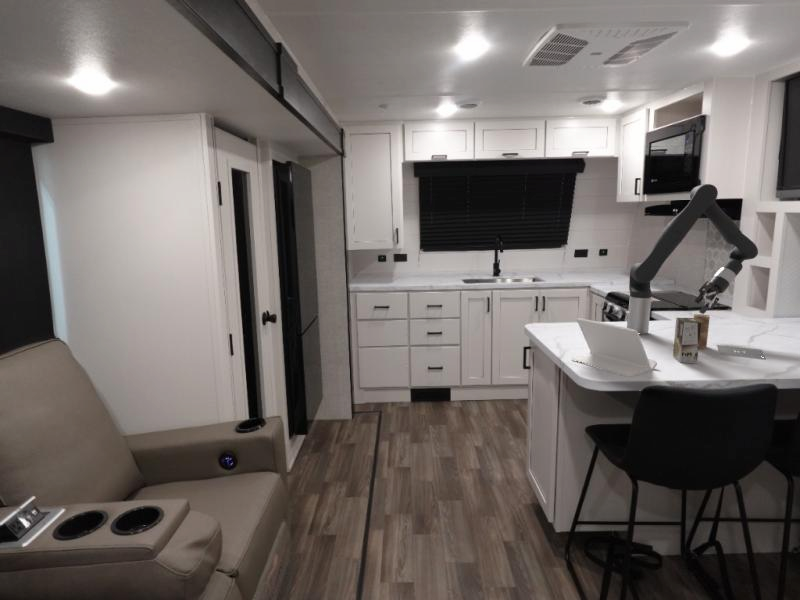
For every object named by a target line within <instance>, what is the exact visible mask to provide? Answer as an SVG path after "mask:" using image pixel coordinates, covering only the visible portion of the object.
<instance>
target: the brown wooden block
mask: <svg viewBox="0 0 800 600" xmlns="http://www.w3.org/2000/svg"><path fill="white" fill-rule="evenodd" d="M693 318H694V319H696V320H698V321H699V322H701V331H700V340H699V350H704V351H706V350H707V345H708V344H707V343H708V336H709V327H710V320H711V319H710V314H702V313H700V314H699V313H693Z"/></svg>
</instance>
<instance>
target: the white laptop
mask: <svg viewBox="0 0 800 600" xmlns="http://www.w3.org/2000/svg"><path fill="white" fill-rule="evenodd" d="M576 322H577V324H578V325H579V329H580V331H581V332H582V335H583V338H584V340H585V341H586V344H587V347H588V349H589V350H590V352H589V353H588V354H585V355H583V354H582V355H580V356H576V357H572V358H571V360H572V359H573V360H576V361H580V362H583V363H586V364H589V365H592V366H595V367H598V368H597V369H599V368H601V369H600V370H602V369H604V370H603V371H606V370H607V371H606V372H609V373H612V372H613V374H616V375H620V376H623V377H627V378H632V377H635V376H638V375H641V374H644V373H648V372H651V371H653V370H654V369H655V368H656V367H657V365H658V362H657V361H656V360H655V359H654V360H653V359H649V358H648V355H647V353H646V350H645V347H644V344H643V341H642V339H641V337H640V334H638V331H637V330H634V329H630V328H627V327H625V326H620V325H615V324H609V323H605V322H600V321H596V320H592V319H586V318H582V317H577V319H576ZM589 365H588V366H589ZM592 366H591V367H592ZM595 367H594V368H595Z"/></svg>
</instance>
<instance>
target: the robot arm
mask: <svg viewBox="0 0 800 600" xmlns="http://www.w3.org/2000/svg"><path fill="white" fill-rule="evenodd" d="M718 192H719V191H718V188H717V187H716V186H715V185H713V184H710V183H705V184H700V185H696V186H695V187H693V188H692V189H691V191H690V194H689V197H690V198H689V199H690V200H689V202H688V204H687V205H686V206H685V207H684V208H683V209H682V210H681V211H680V212H679V213H678V214H677V215H676V216H675V217H674V218H673V219H672V220H671V221H669V222H668V223H667V225H666V226H665V227H664V228H663V230H662V231H661V232H660V234H659V235H658V236H657V239H656V241H655V243H654V246H653V247H652V250H651V252H650V253H649V255H648V256H647V257H646V258H645V259H644V260H643V261H641V262H636V263H634V264H633V265H632V266H631V268H630V269H629V271H630V272H629V281H628V282H629V286H628V288H629V304H628V312H627V318H626V319H627V320H626V328H630V329H634V330H637V331H638V333H640V334H639V335H646V334H645V333H647V334H649V329H650V328H649V327H650V316H651V307H652V305H651V304H652V293H653V292H652V289H651V281H652V280H654V278H655V277H656V276H657V274H658V272H660V271H659V270H660V269H661V268H662V266H663V264H664V263H665V262H666V260H667V259H668V258H669V257H670V256H671V254H672V253H673V252H674V251H675V250H676V249H677V247H678V246H679V245H680V244H681V243H682V241H683V240H684V239H685V237H687V235H688V233H690V231H691V229H692V228H693V226H694V225H695V224H696V222H697V221H698V219H699V218H700V217H701V216H702V215H703V214H704V215H705V216H706V217H707V218H708V219H709V221H710V222H711V224H713V225H714V227H715V229H716V230H717V231H718V233H719V234H720V236H721V237H722V238H723V240H724V241H725V242H726V243H727V244H729V245H733V246H734V248H733V249H732V250H731V251H730V252H729V255H728V257H727V258H726V261H725V262H724V263H723V265H722V266H721V267H720V268H719V269H718V270H717V271H716V272H715V273H714V274H713V275H712V276H711V278H710V279H709V280H708V281H705V282H704V283H703V285H702V286H701V287H699V289H698V292H699V293H698V295H697V297H696V298H695V300H694V304H697V305H699V304H700V303H701V302H702V300H704V305H703V306H702V307H701V308H699V309H700V310H699V313H700V314H701V315H705V313H707V311H708V310H709V309H710V310H713V309H714V307H716V304H718V302H719V300H720V298H719V297H718V295H719V294H723V293H725V292H726V291H727V289H728V288H729V287H730V285H731V284H732V283H733V282H734V280H735V278H736V277H737V276H738V275H739V274H740V273H741V271H742V270H743V262H744V261H749V260H753V259H755V258H756V257H757V256H758V253H759V249H758V247H757V245H756V243H754V241H752V240H751V239H750V238H749V237H748V236H746V235H745V234H744V233H743V232H742V230H741V229H740V228H739V226H738V224H737V223H736V222H735V221H734V220H733V219H732V218H731V217H730V216H729V215H727V213H726V212H724V210H722V209H721V207H720V205H718V203H717V202H716V200H717V198H718V195H719V193H718Z"/></svg>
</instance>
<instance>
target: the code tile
mask: <svg viewBox="0 0 800 600" xmlns="http://www.w3.org/2000/svg"><path fill="white" fill-rule="evenodd" d="M716 347H717V351H718V355H721V356H730V357H739V358H747V359H756V360H757V359H758V360H766V359H767V356H766V355H765V353H764V351H763V349H760V348H759V349H758V348H749V347H740V346H729V345H720V344H717V345H716ZM763 353H764V354H763ZM761 356H762V357H764V358H762V357H761ZM766 361H767V360H766Z"/></svg>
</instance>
